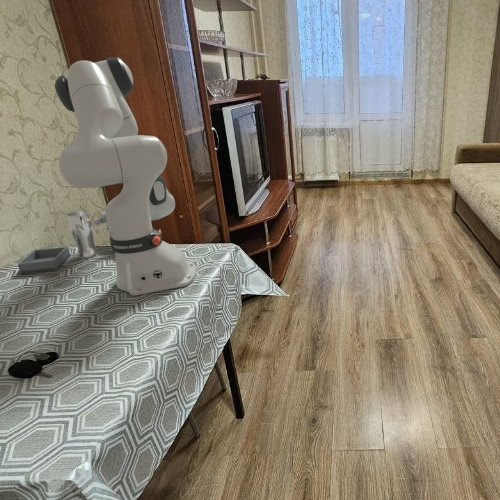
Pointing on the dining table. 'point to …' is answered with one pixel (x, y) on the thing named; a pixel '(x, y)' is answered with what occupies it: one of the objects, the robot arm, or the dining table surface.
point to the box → (44, 260)
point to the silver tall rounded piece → (82, 232)
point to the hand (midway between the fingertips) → (100, 225)
